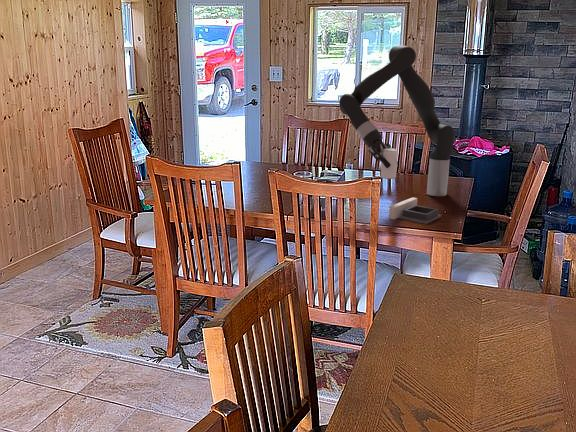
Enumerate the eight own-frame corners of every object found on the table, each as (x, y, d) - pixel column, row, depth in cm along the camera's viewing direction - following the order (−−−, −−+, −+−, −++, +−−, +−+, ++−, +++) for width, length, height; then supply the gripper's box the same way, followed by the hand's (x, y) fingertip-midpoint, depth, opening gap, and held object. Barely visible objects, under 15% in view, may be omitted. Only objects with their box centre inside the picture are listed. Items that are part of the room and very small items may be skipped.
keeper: (415, 211, 245) (415, 203, 244) (441, 216, 237) (442, 208, 236) (399, 218, 234) (399, 210, 233) (426, 224, 227) (426, 216, 226)
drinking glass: (336, 208, 248) (337, 180, 244) (327, 213, 239) (328, 185, 236) (315, 204, 252) (316, 178, 249) (305, 210, 244) (306, 182, 240)
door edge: (411, 208, 249) (412, 197, 247) (416, 209, 247) (417, 198, 246) (388, 218, 234) (389, 206, 232) (393, 219, 232) (394, 207, 231)
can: (395, 179, 238) (397, 150, 234) (380, 178, 239) (381, 150, 236) (396, 176, 244) (398, 148, 240) (380, 175, 245) (382, 147, 242)
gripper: (366, 130, 235) (390, 163, 231) (384, 126, 246) (407, 157, 242) (354, 141, 240) (378, 173, 236) (372, 137, 250) (395, 168, 247)
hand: (392, 165), depth 239 cm, fingers closed on can, 5 cm apart
